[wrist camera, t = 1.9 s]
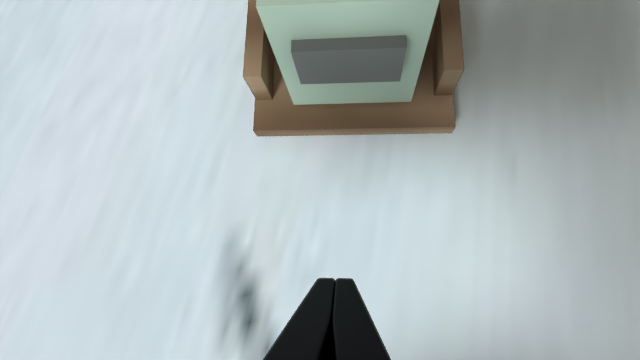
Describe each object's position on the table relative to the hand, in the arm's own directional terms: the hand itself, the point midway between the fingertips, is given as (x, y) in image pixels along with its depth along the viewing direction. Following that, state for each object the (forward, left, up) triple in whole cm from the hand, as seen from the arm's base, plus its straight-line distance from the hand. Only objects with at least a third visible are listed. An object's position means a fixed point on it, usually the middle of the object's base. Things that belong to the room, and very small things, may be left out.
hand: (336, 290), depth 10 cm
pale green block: (+10, +6, -12) cm, 17 cm away
